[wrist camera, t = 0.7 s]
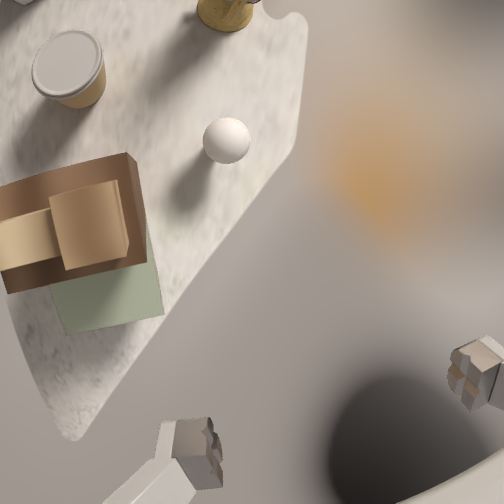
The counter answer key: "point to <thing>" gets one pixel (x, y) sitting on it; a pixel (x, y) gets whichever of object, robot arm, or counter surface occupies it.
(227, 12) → the lantern
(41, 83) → the coffee cup
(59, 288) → the sage step
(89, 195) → the beech mallet
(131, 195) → the walnut shelf
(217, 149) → the lightbulb
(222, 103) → the counter surface
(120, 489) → the robot arm
